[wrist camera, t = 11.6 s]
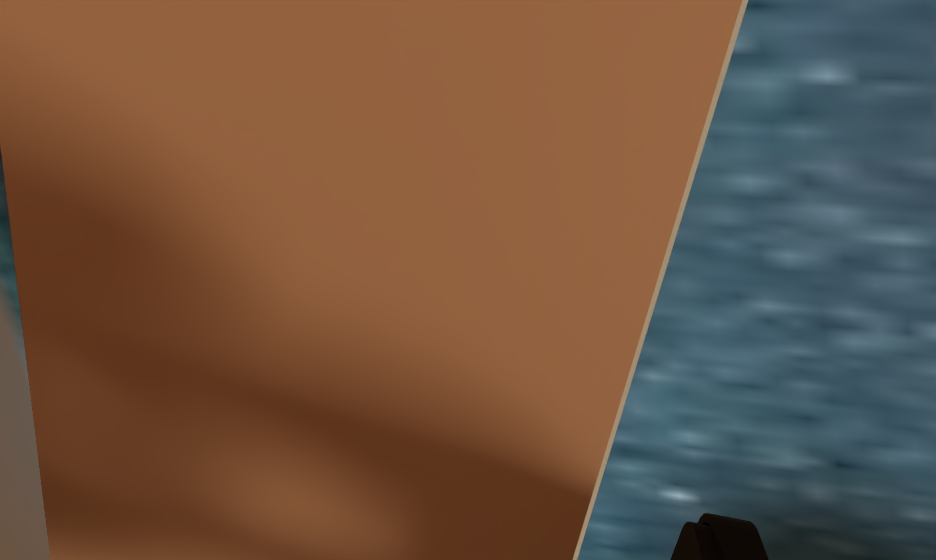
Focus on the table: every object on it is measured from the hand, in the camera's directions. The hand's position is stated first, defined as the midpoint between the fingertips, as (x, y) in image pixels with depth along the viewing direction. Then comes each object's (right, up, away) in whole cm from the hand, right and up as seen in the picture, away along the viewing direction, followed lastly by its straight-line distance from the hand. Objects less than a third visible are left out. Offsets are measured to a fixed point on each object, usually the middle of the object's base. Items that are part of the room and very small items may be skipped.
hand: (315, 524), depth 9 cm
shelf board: (0, +1, +3) cm, 3 cm away
